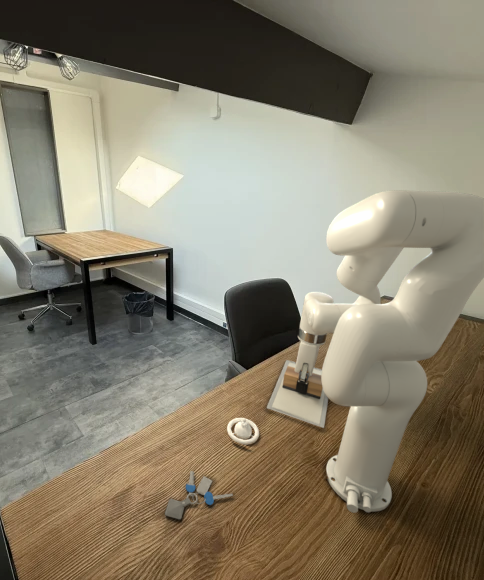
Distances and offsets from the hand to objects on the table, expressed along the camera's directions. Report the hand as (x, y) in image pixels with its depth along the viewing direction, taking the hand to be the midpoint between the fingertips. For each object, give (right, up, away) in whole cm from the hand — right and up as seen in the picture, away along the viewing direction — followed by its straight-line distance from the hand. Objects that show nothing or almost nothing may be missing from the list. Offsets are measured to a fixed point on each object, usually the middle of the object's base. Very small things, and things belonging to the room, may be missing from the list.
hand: (302, 386), depth 93 cm
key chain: (-33, -12, -31) cm, 47 cm away
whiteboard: (0, -2, +1) cm, 2 cm away
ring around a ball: (-21, -7, -16) cm, 28 cm away
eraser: (0, -1, 0) cm, 1 cm away
